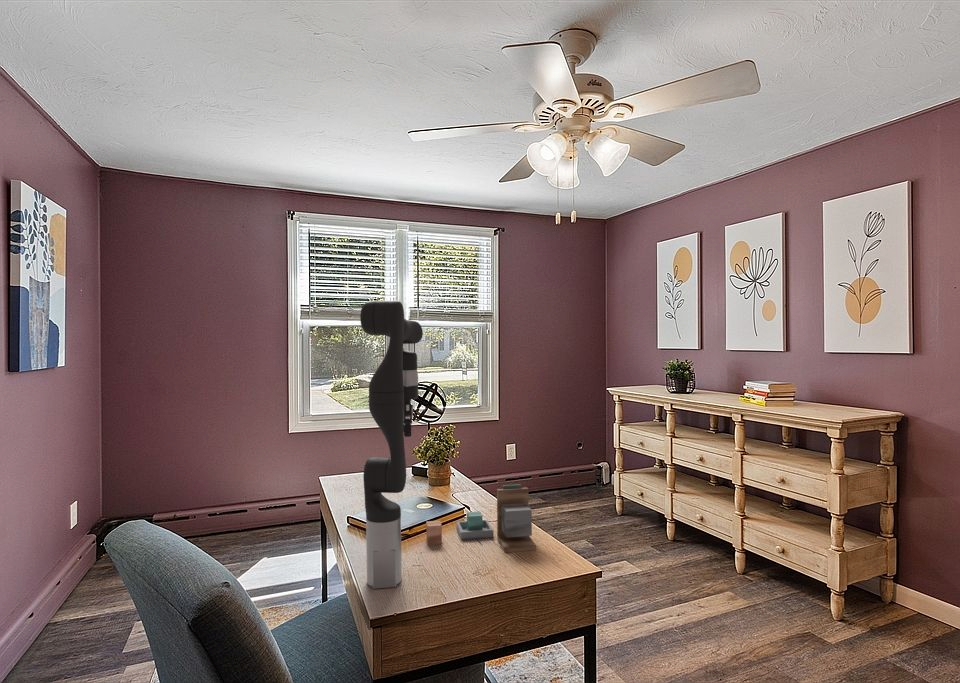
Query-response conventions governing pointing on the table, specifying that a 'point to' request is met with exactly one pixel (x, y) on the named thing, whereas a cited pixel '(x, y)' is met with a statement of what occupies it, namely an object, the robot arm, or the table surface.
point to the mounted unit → (514, 519)
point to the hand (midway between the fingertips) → (407, 434)
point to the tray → (476, 534)
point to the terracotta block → (433, 532)
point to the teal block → (474, 521)
